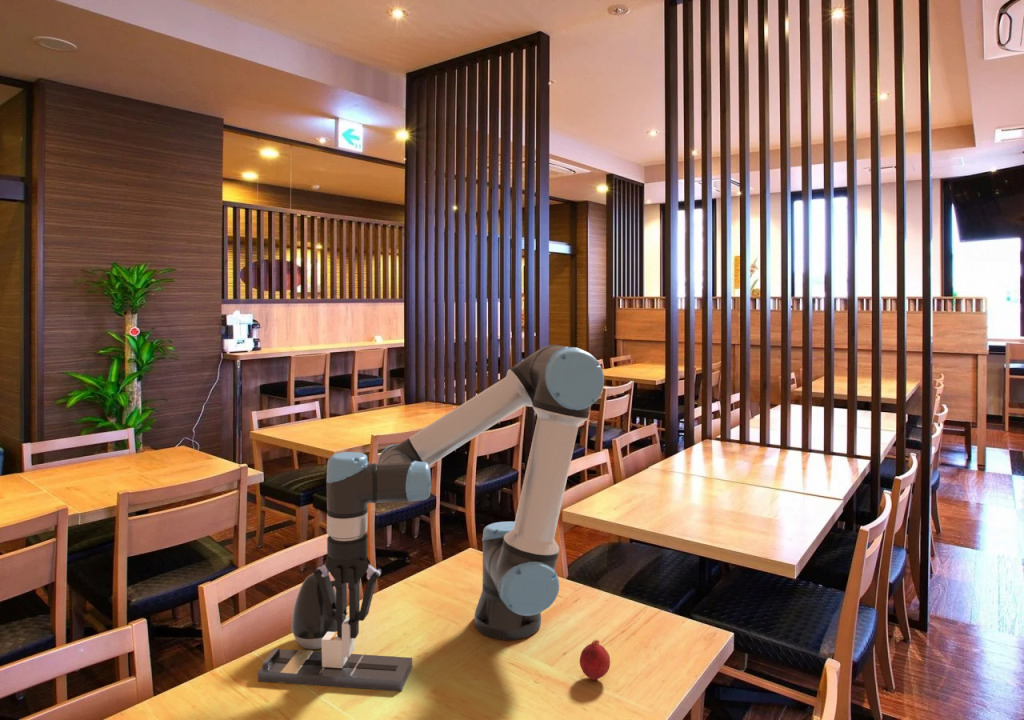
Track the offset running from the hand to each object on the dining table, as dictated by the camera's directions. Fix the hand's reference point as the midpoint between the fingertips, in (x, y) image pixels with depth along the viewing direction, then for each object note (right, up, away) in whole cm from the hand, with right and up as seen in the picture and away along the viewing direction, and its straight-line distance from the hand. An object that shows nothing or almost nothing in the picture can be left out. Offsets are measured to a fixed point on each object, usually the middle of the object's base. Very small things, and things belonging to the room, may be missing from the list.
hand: (348, 652), depth 123 cm
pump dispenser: (-10, -4, +12) cm, 16 cm away
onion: (+48, -5, 0) cm, 48 cm away
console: (-2, -5, +1) cm, 5 cm away
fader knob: (-3, -2, +1) cm, 4 cm away
